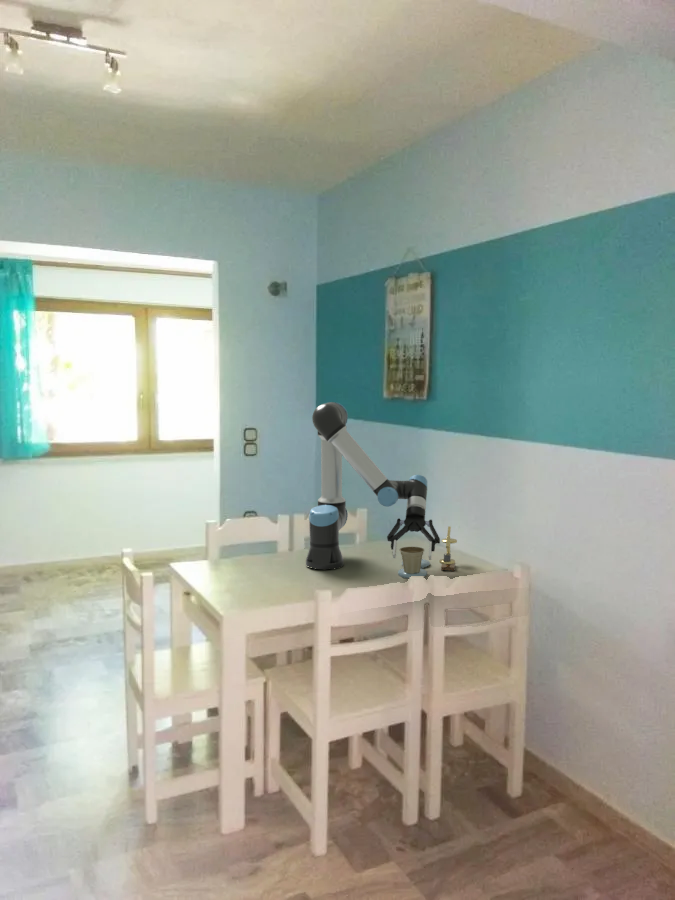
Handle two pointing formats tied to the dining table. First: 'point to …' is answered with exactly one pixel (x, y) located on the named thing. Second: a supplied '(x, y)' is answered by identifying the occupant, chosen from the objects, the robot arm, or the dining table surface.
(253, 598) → the dining table surface
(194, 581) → the dining table surface
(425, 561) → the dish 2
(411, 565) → the flower pot
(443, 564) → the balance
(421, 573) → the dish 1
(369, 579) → the dining table surface
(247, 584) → the dining table surface
